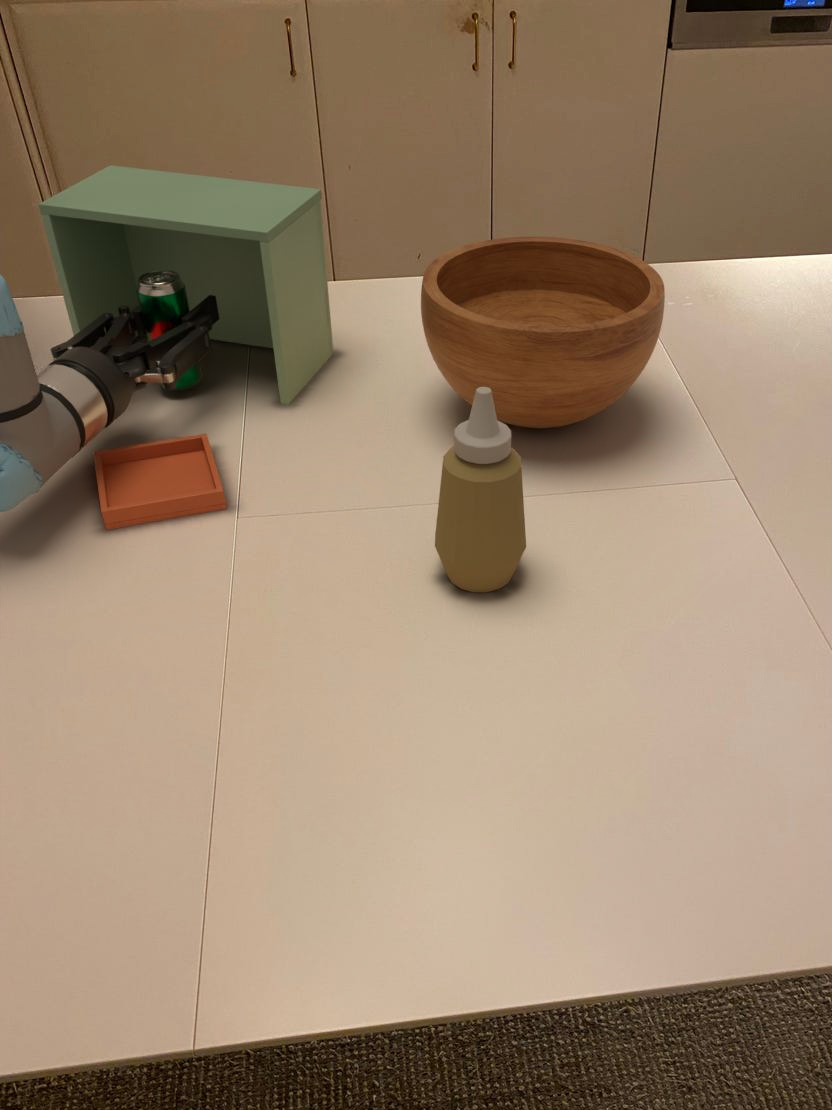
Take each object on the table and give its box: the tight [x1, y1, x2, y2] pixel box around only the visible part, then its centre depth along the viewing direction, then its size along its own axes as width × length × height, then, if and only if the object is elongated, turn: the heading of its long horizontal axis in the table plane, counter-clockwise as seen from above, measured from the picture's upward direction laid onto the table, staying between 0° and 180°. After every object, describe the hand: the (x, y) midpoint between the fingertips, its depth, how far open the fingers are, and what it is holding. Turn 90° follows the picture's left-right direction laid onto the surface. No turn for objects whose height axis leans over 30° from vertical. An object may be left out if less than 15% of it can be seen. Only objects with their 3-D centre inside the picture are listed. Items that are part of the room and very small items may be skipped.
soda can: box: [136, 270, 203, 391], centre depth 108 cm, size 5×5×12 cm
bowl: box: [420, 236, 666, 429], centre depth 105 cm, size 25×25×15 cm
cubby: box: [37, 165, 335, 406], centre depth 112 cm, size 14×26×19 cm, turn 74°
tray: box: [92, 433, 228, 531], centre depth 97 cm, size 11×11×2 cm
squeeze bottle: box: [434, 387, 527, 593], centre depth 82 cm, size 8×8×18 cm
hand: (190, 304), depth 111 cm, fingers closed on soda can, 5 cm apart
